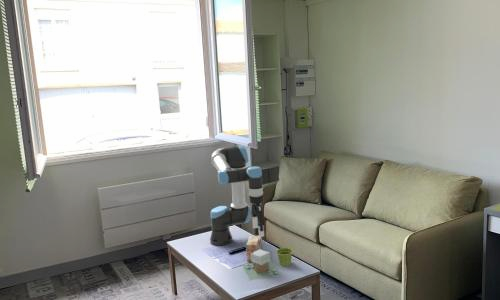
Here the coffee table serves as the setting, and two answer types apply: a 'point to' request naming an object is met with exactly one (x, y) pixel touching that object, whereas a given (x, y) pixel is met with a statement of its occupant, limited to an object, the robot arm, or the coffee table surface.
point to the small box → (260, 257)
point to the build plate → (253, 275)
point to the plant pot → (284, 256)
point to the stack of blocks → (253, 246)
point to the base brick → (261, 267)
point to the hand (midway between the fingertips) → (258, 232)
